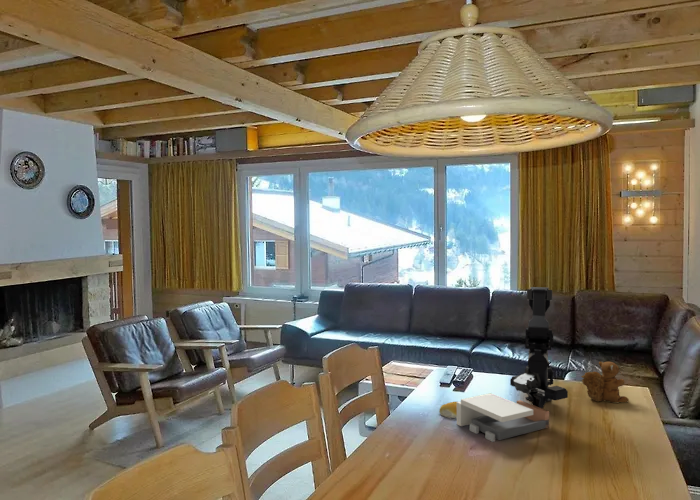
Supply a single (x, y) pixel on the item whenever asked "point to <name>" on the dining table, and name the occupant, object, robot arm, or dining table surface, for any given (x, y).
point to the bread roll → (449, 410)
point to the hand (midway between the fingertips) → (537, 413)
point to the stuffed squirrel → (604, 383)
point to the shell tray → (514, 423)
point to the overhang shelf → (489, 411)
